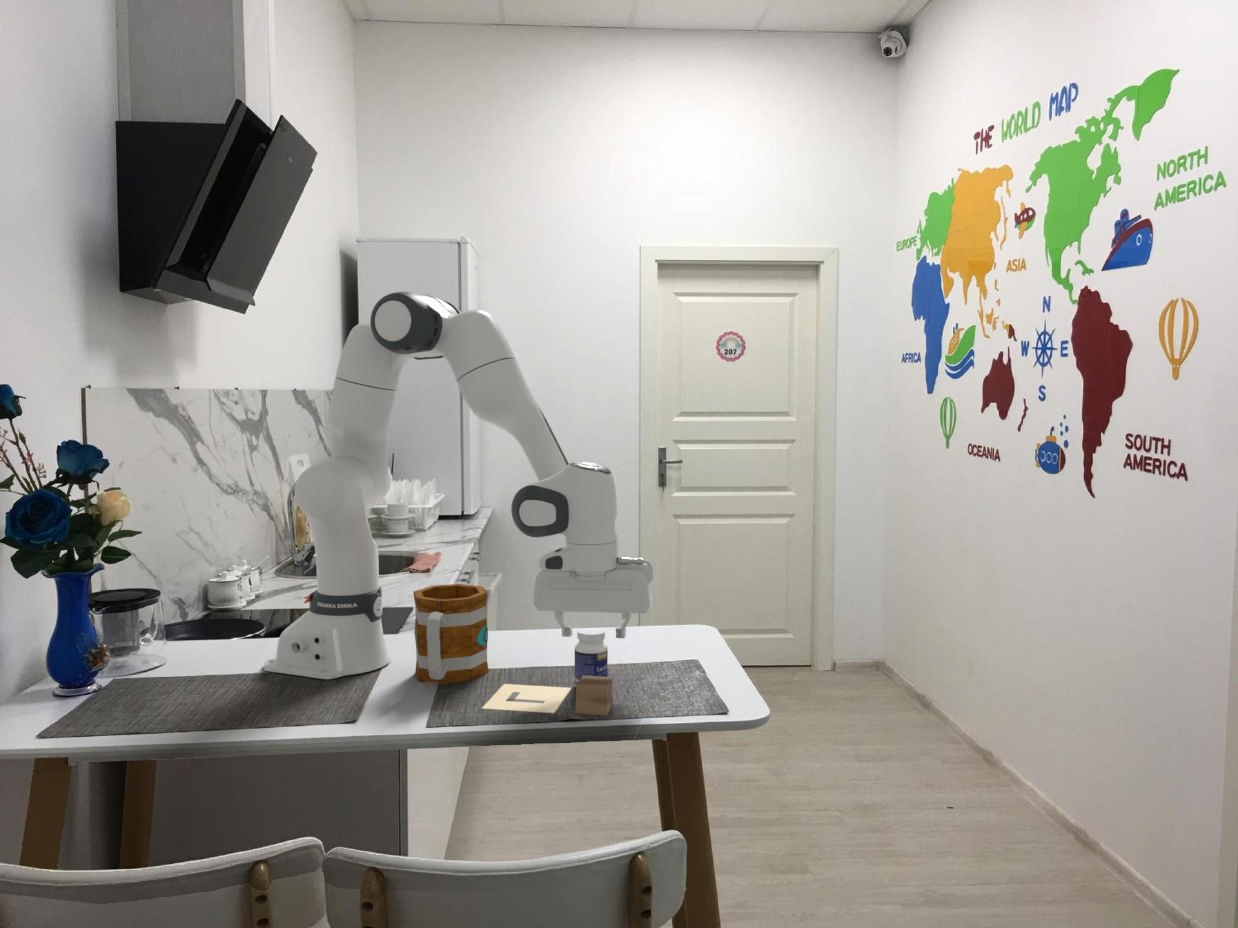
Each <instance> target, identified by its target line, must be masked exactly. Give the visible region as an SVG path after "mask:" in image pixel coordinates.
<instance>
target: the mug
mask: <svg viewBox="0 0 1238 928" xmlns="http://www.w3.org/2000/svg"><path fill="white" fill-rule="evenodd" d="M413 598H414V605H415V609H414V610H415V620H414V621H415V622H414V632H413V633H414V641H415V647H416V648H415V649H416V650H415V651H416V654H415V655H416V658H415V659H416V661H415V662H416V663H415V671H414V673H415V676H416V679H417V681H418V682H419V683H425V682H431V683H435V684H436V683H437V684H443V685H444V684H452V683H460V682H470V681H474V680H476V679H478V678H480V677H481V676H484V675H486V674H488V673H489V672H490V671H489V665H488V664H489V663H488V639H489V638H488V637H489V630H488V622H487V621H488V620H487V619H488V618H487V602H488V591H487V590H486V589H485V588H484V586H480V585H472V584H463V583H454V584H441V585H440V584H439V585H430V586H427V587H424V588H421V589H417V590H415V591H413Z"/></svg>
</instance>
